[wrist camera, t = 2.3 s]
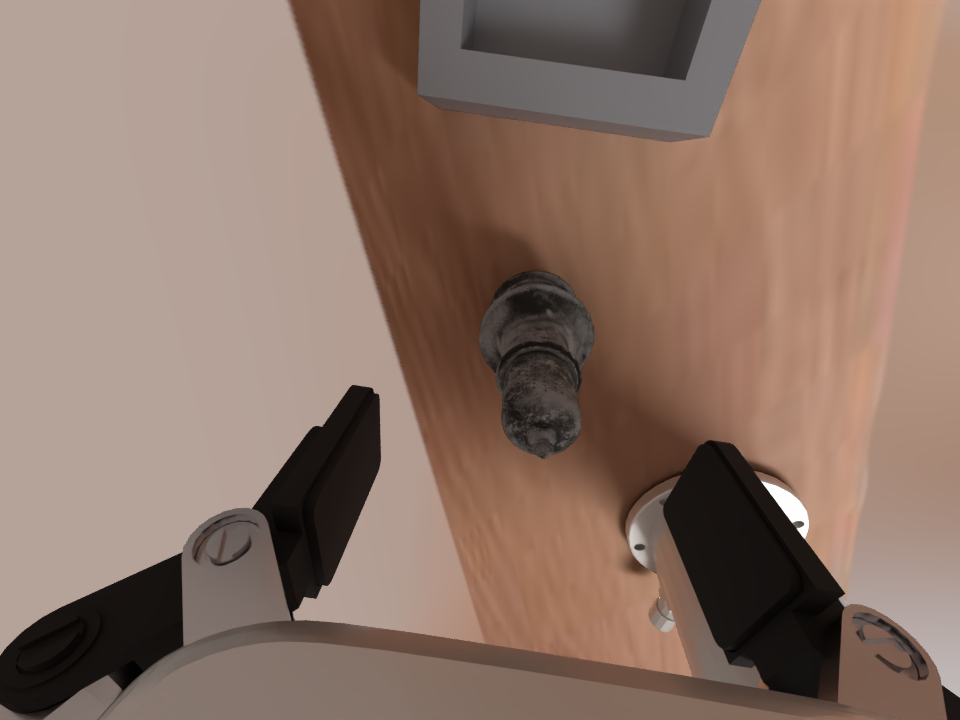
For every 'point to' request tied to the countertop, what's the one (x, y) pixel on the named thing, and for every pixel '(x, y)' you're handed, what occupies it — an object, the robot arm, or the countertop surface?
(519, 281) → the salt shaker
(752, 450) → the countertop surface
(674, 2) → the holder
